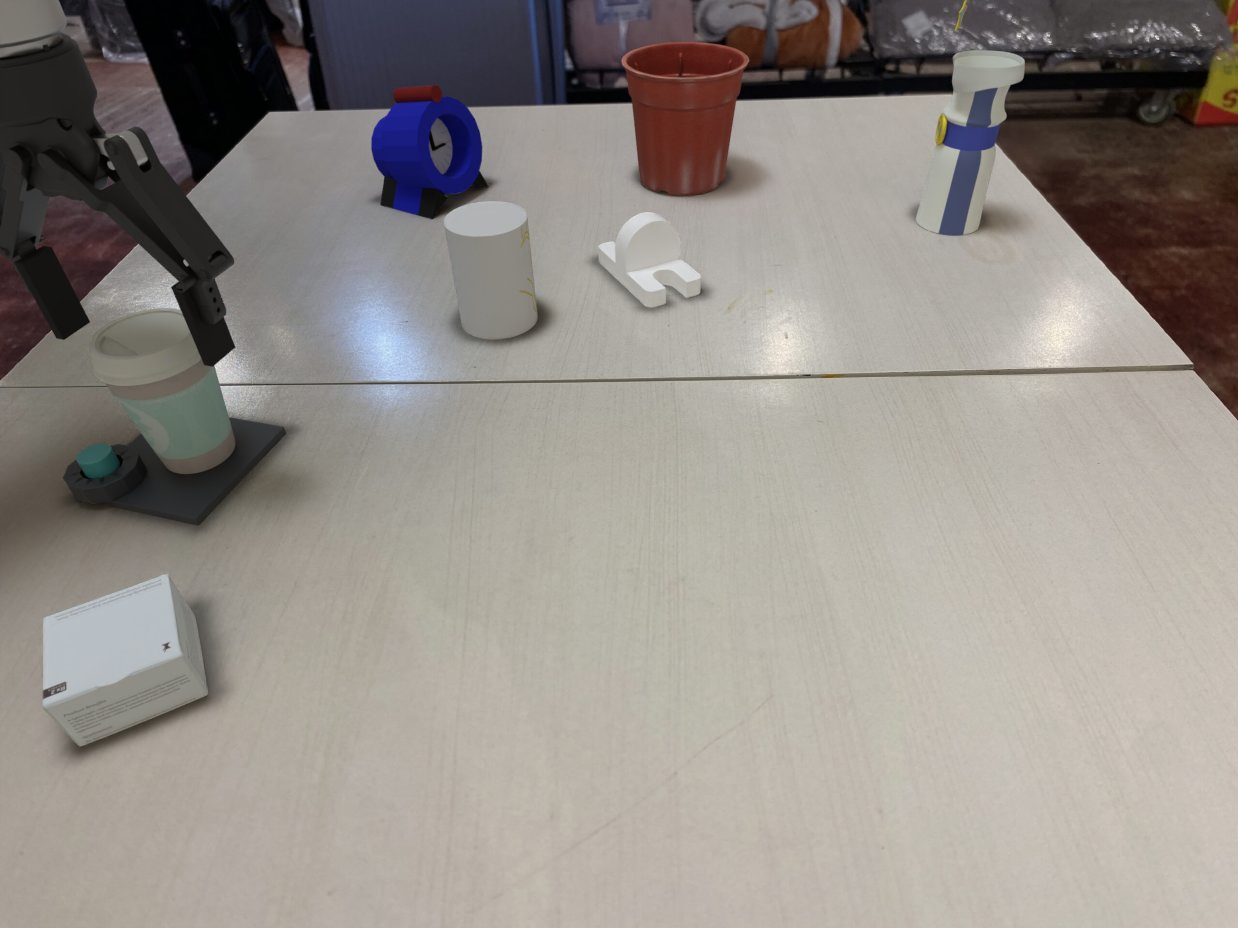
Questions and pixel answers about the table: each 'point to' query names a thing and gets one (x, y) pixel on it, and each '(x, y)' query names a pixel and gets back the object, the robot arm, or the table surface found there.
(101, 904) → the table surface
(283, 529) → the table surface
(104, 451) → the button
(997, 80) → the water bottle
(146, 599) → the small box
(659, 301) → the slotted bracket
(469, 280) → the cup
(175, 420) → the coffee cup
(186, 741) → the table surface
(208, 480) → the scale
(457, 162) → the alarm clock
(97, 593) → the table surface
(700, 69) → the flower pot
